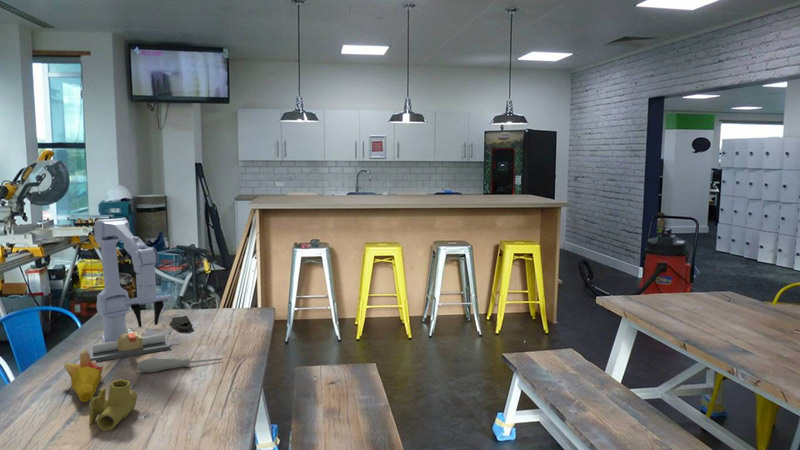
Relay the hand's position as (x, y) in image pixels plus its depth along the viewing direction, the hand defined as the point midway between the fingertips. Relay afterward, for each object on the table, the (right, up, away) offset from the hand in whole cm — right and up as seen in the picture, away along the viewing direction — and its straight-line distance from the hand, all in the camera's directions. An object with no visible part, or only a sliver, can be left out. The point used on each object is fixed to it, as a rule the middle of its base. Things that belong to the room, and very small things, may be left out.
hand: (148, 325), depth 181 cm
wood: (-3, -7, +35) cm, 35 cm away
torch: (-6, -14, -27) cm, 31 cm away
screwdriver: (+14, -12, -8) cm, 21 cm away
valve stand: (-9, -10, +5) cm, 14 cm away
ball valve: (+10, -16, -43) cm, 47 cm away
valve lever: (-6, -4, +1) cm, 7 cm away
